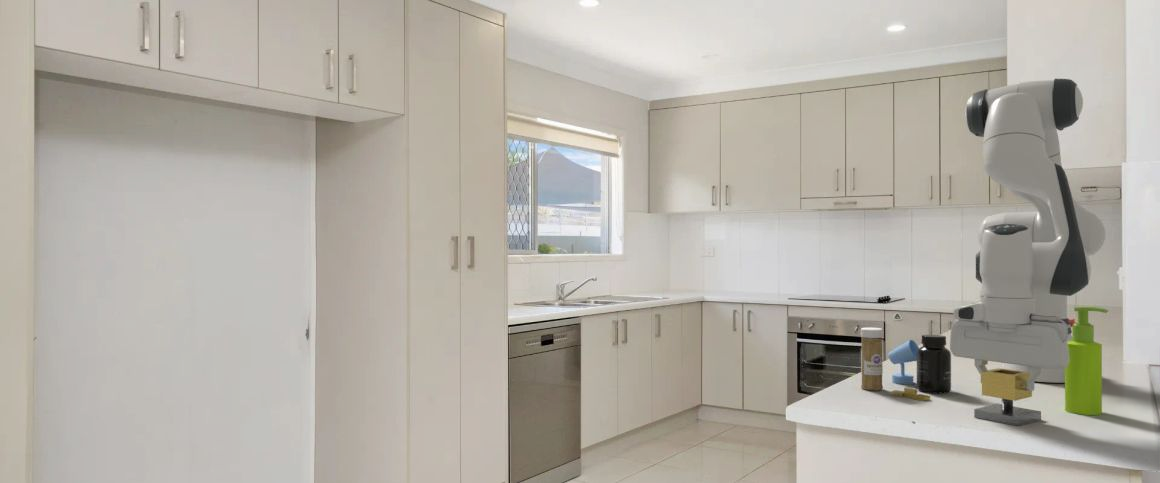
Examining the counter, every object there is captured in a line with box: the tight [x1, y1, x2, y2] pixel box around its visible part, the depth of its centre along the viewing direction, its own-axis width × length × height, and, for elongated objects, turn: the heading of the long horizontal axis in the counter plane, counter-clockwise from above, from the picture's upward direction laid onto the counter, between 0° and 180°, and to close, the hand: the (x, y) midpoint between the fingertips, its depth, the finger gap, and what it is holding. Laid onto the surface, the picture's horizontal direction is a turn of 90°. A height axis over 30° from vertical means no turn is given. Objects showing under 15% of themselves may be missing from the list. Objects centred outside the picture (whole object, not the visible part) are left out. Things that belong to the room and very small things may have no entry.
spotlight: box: [888, 339, 920, 385], centre depth 176 cm, size 5×10×7 cm
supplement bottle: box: [916, 334, 952, 394], centre depth 167 cm, size 7×7×12 cm
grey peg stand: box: [973, 398, 1042, 427], centre depth 142 cm, size 8×8×7 cm
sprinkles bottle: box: [860, 326, 884, 392], centre depth 169 cm, size 5×5×14 cm
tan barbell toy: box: [890, 387, 931, 402], centre depth 160 cm, size 2×8×2 cm, turn 33°
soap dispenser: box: [1064, 306, 1109, 416], centre depth 146 cm, size 6×7×20 cm
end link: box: [981, 367, 1033, 402], centre depth 142 cm, size 6×6×4 cm
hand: (1006, 387), depth 142 cm, fingers closed on end link, 6 cm apart
